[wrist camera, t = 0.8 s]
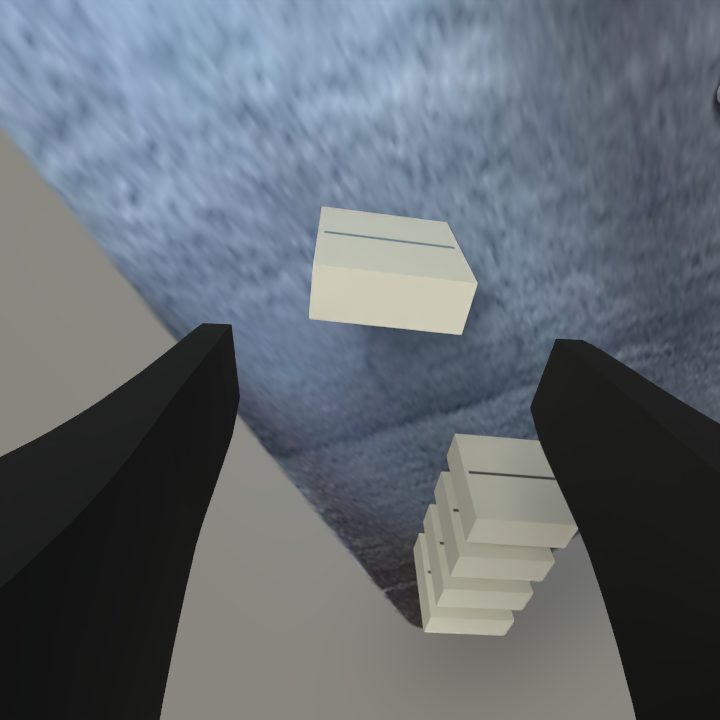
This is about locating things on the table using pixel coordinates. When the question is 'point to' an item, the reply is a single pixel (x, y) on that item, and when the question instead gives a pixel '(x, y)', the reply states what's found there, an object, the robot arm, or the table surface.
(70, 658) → the robot arm
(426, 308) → the domino
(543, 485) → the domino
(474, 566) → the domino
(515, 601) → the domino
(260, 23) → the table surface
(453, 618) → the domino
